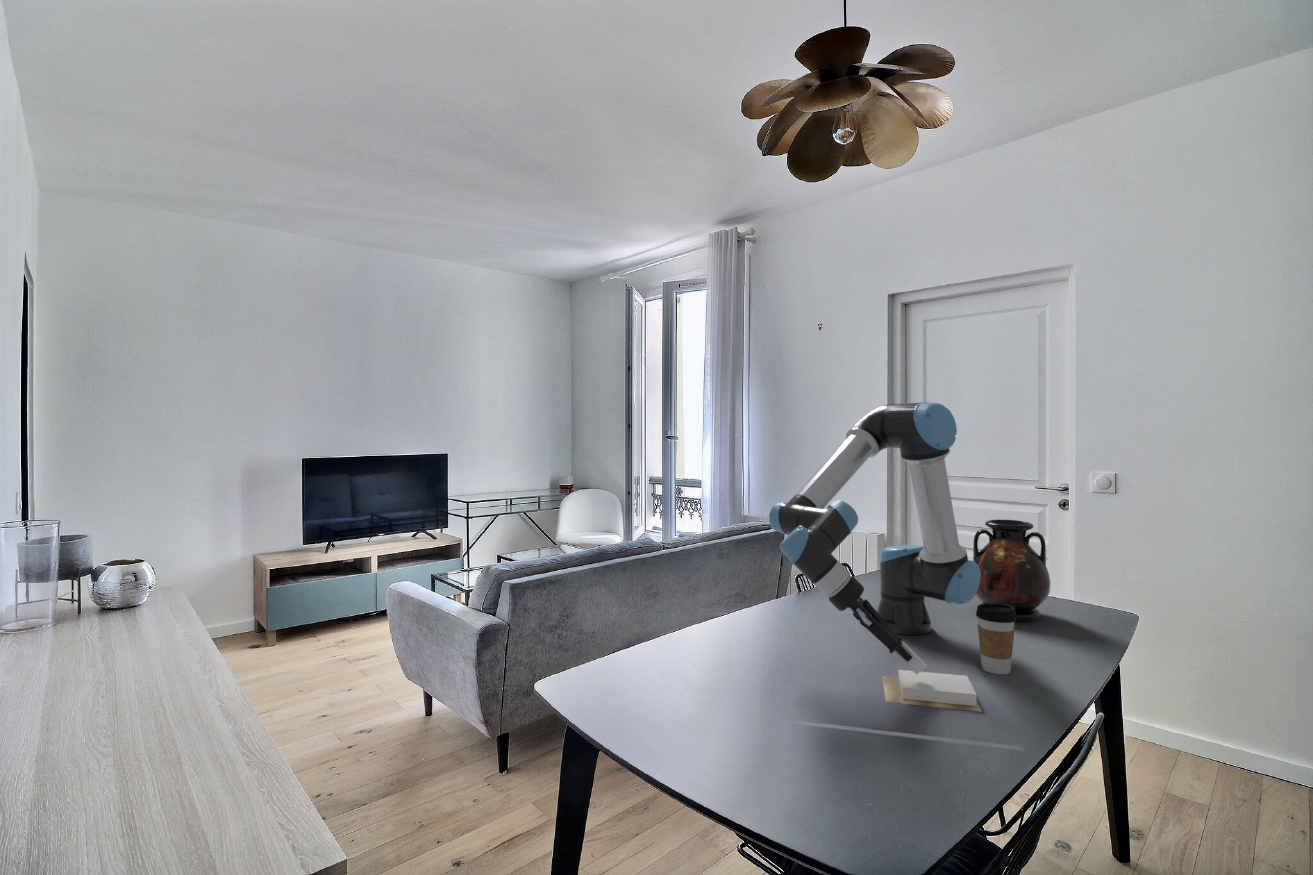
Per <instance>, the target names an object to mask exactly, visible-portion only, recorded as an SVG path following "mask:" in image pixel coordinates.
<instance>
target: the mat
mask: <svg viewBox="0 0 1313 875" xmlns="http://www.w3.org/2000/svg"><path fill="white" fill-rule="evenodd" d="M881 679H882V680H881V681H882V686H883V690H884V691H883V692H884V699H885V702H886V703H891V704H893V703H895V704H902V705H903V704H904V705H911V706H912V705H914V706H921V707H931V708H939V709H940V708H942V709H952V710H960V711H962V710H963V711H969V712H971V711H972V712H980V713H982V712H983V711H982V709H981V706H980V705H979V703H978V701H977V706H968V705H959V704H949V703H939V702H929V701H920V700H910V699H902V694H901V690H900V685H899V680H898V677H894V676H884V675H881Z"/></svg>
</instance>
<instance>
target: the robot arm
mask: <svg viewBox="0 0 1313 875" xmlns="http://www.w3.org/2000/svg"><path fill="white" fill-rule="evenodd" d="M957 432H958V431H957V422H956V419H955V417H954V415H953V413H952V411H951V410H950V409H949V408H948V407H946V406H945V405H944V404H941V403H938V402H927V401H926V402H925V401H923V402H908V403H907V402H906V403H905V402H904V403H888V404H884V405H881V406H879V407H877V408H875V409H873V410H871V411H870V412H868V413H867V414H865V415H864V416H862V417H861V418H859V420H857V421H856V423H855V424H853V425H852V427H851V428H849V430H848V431H847V432H846V435H845V439H844V441H842V443H841V444H839V446H838V448H836V450H835V451H834V452H833V453H832V454H831V455H830V456H829V457H828V458H827V459H826V460H825V462H823V464H822V465H821V466H820V467H819V468H818V469H817V471H816V472H814V473H813V475H812V476H811V477H810V478H809V479H808V480H807V481H806V482H805V484H803V486H801V488H800V489H799V490H798V491H797V492H796V493H795V495H793V496H792V498H791V499H789V501H787V502H785V501H784V502H778V503H775V504H774V505H773V506H772V507H771V509H770V511H769V514H768V520H769V525H770V526H771V528H772V529H773V530H774V531H775V532H778V533H781V534H785V535H786V537H785V538H784V539H783V540H782V541H781V542H780V544H779V545H780V546H779V549H780V550H781V552H782V553H783V555H784V556H785V557H786V558H787V559H788V560H789V562H790V563H791V564H792V565H794V566H795V567H796V568H797V570H799V571H800V572H801V573H802V574H803V575H804V576H805V577H806V578H807V580H809V581H810V582H811V583H812V584H813V585H814V586H815V587H814V590H815V592H819V591H820V593H821V594H823V596H824V597H828V601H829V602H830V603H831V604H832V606H834V607H835V608H836V609H837V610H838V611H840V612H843V611H845V610H846V609H850V610H851V611H852V615H853V617H854V618H855V619H856V620H857V621H859V624H860V625H861V626H862V627H864V628H865V629H866V630H868V631H869V632H870V633H871V634H872V635H873V636H874V637H875V638H876V639H877V640H879V641H880V642H881V643H882V644H883V646H885V647H886V648H887V649H888V650H889V654H890V655H891V654H893V653H895V655H896V656H898V657H899V659H900V660H902V662H904V664H906V665H907V666H908V668H909V669H910V670H911V671H914V673H915V674H916V675H917V674H918V673H919V672H923V670H924V669H925V668H927V665H926V663H925V661H923V660H922V659H921V658H920V657H919V656H918V655H917V654H916V653H915V652H914V651H913V650H912V649H911V648H910V647H909V646H908V645H907V644H906V643H905V642H904V641H903V640H904V639H905V637H904V636H920V635H921V636H922V635H926V634H928V633H931V632H932V621H931V618H930V614H929V612H928V609H927V606H926V602H925V597H926V598H928V599H929V598H930V599H934V600H939V601H942V602H946V603H947V604H956V605H966V604H968V603H970V601H971V600H973V599H974V597H976V595H975V594H976V592H977V590H978V587H979V584H980V577H981V573H980V568H979V566H978V565H977V564H976V563H975V562H973V560H969V557H968V553H967V552H968V551H967V549H966V548H965V547H964V546H962V545H961V544H960V543H959V536H958V531H957V525H956V518H955V512H954V507H953V502H952V495H951V490H950V483H949V479H948V478H949V476H948V472H947V465H946V461H945V458H947V456H948V455H949V454H950V451H951V450H950V448H951V447H953V445H954V444H955V442H956V439H957V438H956V435H957ZM890 448H892V449H893V448H895V449H899V451H900V456H901V459H902V460H903V461H905V463H907V464H908V465H909V466H908V467H909V471H910V476H911V482H912V488H913V494H914V499H915V505H916V510H917V516H918V517H917V518H918V521H919V526H920V534H921V538H922V543H923V544H922V545H919V544H918V545H917V544H916V545H914V544H910V545H909V544H906V545H903V544H902V545H894V546H893V545H892V546H886V547H883V549H882V550H881V551H880V561H879V564H880V565H879V566H880V567H879V568H880V600H879V602H878V606H877V608H876V609H875V608H874V607H873V606H872V604H871V602H870V601H869V600H868V599H866V598H865V599H864V598H862V597H861V596H862V595H863V593H864V591H865V586H864V585H862V583H861V582H859V580H858V579H856V577H855V576H851V572H850V571H849V570H848V569H847V568H846V567H845V566H844V565H843V564H842V563H841V562H840V561H839V560H838V559H837V558H836V557H835V556H834V555H833V554H832V553H833V552H835V550H836V549H837V548H838V547H839V546H840V544H842V543H843V541H844V540H846V539H847V537H848V536H849V535H851V534H852V531H853V530H854V529H855V528H856V526H857V525H858V523H859V516H858V513H857V512H856V510H855V509H854V507H852V506H851V505H850V504H849V503H847V502H846V501H843V500H834V501H833V502H832V500H833V499H834V498H835V497H836V496H837V494H838V493H840V491H841V490H842V489H843V488H844V486H845V485H846V484H847V483H848V482H849V481H850V479H852V477H854V475H855V474H856V473H857V472H858V471H859V469H860V468H861V467H862V466H863V465H864V463H866V461H867V460H868V459H869V458H874V457H877V455H878V454H879V452H881V451H883V450H885V449H890ZM830 502H832V503H830ZM829 503H830V504H829ZM828 504H829V505H828ZM899 635H900V636H899Z"/></svg>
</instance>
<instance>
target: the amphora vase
mask: <svg viewBox="0 0 1313 875" xmlns="http://www.w3.org/2000/svg"><path fill="white" fill-rule="evenodd" d="M984 525H985V526H986V527H987V528H990V529H991V532H992V533H991V532H990V531H989V530H987V529H979V530H977V531H976V532H975V535H974V536H973V550H972V554H973V555H972V559H973V560H972V561H973V562H975V563H976V564H977V565H978V566H979V568H980V573H981V577H980V584H979V587H978V590H977V592H976V594H975V597H976V598H977V599H978V600H979V601H980V603H979V604H978V605H981V604H1007V605H1011V606H1013V607H1015V613H1016V621H1015V622H1032V621H1036V620H1037V619H1039V618H1040V617H1041V611H1040V609H1038V608H1039V607H1040V606H1041V605H1042V604H1044V603H1045V601H1046V600H1047V599H1048V597H1049V594H1050V593H1051V578H1050V573H1049V570H1048V568H1047V548H1046V540H1045V539H1044V536H1043V535H1042V534H1041V533H1039V532H1035V531H1034V532H1030V533H1029V534H1027V531H1030V530H1032V529H1034V524H1033V523H1031V522H1029V521H1024V520H1013V519H990V520H989V519H988V520H986V521H985V522H984ZM982 534H985V535H987V537H988V543H986V545H985V546H984V547H982V549H981V550H980V551H979V548H978V547H979V544H978V543H979V538H980V536H981V535H982ZM1026 534H1027V535H1026ZM1033 537H1036V538H1038V539H1039V541H1040V554H1038V553H1037V551H1035V550H1034V549H1033V547H1032V546H1031V545H1030V539H1032V538H1033Z"/></svg>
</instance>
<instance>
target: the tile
mask: <svg viewBox="0 0 1313 875" xmlns="http://www.w3.org/2000/svg"><path fill="white" fill-rule="evenodd" d="M897 672H898V677H897V678H898V680H899V685H900V690H901V694H902V699H910V700H920V701H929V702H939V703H949V704H959V705H968V706H977V702H978V699H977V695H978V694H977V693H976V690H975V688H974V687H973V684H972V682H971V681H970V679H969V676H968V675H962V674H950V673H938V672H928V671H921V672H919V673H918V674H917V675H916V674H915V673H914V671H913V670H908V669H907V670H906V669H898V671H897Z"/></svg>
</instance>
